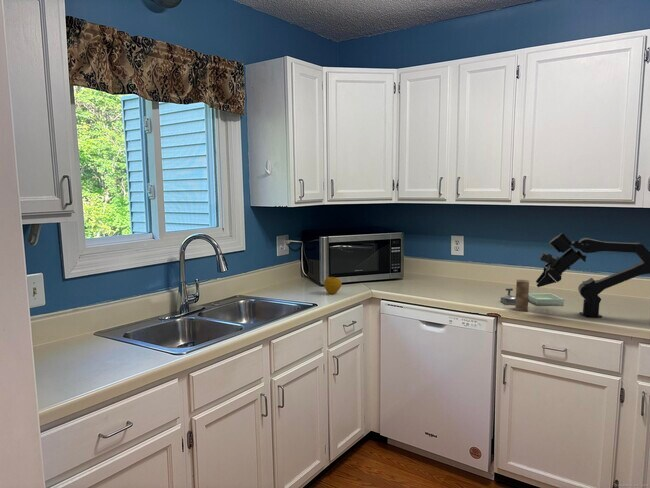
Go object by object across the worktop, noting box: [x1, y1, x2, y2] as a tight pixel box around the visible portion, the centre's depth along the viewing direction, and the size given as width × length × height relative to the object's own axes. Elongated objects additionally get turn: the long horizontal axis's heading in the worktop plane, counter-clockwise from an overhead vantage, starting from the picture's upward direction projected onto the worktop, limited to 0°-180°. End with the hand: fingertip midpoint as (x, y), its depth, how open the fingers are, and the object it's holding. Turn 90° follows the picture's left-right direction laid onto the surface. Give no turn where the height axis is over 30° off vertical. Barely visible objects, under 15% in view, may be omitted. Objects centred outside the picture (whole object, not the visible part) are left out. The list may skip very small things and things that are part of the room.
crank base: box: [500, 296, 516, 306], centre depth 222 cm, size 7×7×2 cm
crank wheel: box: [503, 288, 516, 300], centre depth 221 cm, size 6×6×4 cm
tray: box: [528, 292, 565, 307], centre depth 223 cm, size 12×12×3 cm
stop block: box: [514, 279, 530, 313], centre depth 209 cm, size 5×5×13 cm
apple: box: [323, 276, 342, 295], centre depth 242 cm, size 9×9×9 cm
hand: (536, 284), depth 207 cm, fingers open, 9 cm apart
